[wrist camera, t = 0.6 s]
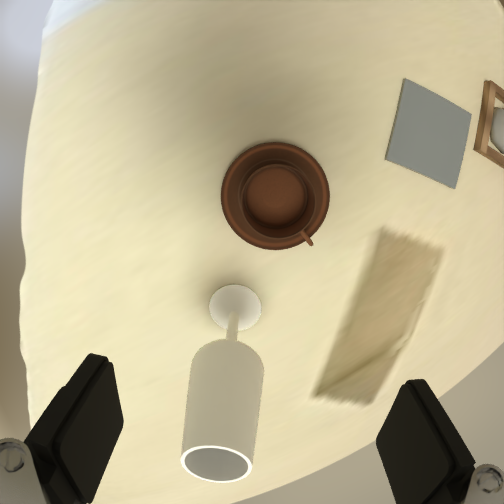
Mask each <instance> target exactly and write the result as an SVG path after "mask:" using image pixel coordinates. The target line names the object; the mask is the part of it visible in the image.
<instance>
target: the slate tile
mask: <svg viewBox="0 0 504 504" xmlns="http://www.w3.org/2000/svg"><path fill="white" fill-rule="evenodd" d="M471 115H472V114H470V113H469V112H467V111H466V110H464V109H462V108H461V107H459V106H457V105H455V104H454V103H452V102H450V101H448V100H447V99H445V98H443V97H441V96H439V95H438V94H436V93H434V92H432V91H430V90H428V89H426V88H424V87H422V86H420V85H418V84H416V83H414V82H412V81H410V80H408V79H406V78H405V79H403V84H402V89H401V93H400V98H399V103H398V107H397V112H396V116H395V120H394V124H393V129H392V133H391V137H390V141H389V144H388V148H387V152H386V156H385V160H387V161H390V162H392V163H395V164H397V165H400V166H402V167H405V168H407V169H410V170H412V171H414V172H417V173H419V174H421V175H424V176H426V177H428V178H430V179H433V180H435V181H437V182H439V183H441V184H444V185H446V186H448V187H450V188H452V189H455V187H456V184H457V180H458V176H459V172H460V168H461V164H462V160H463V155H464V151H465V146H466V141H467V136H468V131H469V126H470V120H471Z"/></svg>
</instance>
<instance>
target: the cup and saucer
mask: <svg viewBox="0 0 504 504" xmlns="http://www.w3.org/2000/svg"><path fill="white" fill-rule="evenodd" d="M329 201H330V191H329V185H328V181H327V178H326V175H325V173H324V171H323V169H322V168H321V166H320V165H319V163H318V162H317V161H316V160H315V159H314V158H313V157H312V156H311V155H310V154H308V153H307V152H306V151H304V150H302V149H301V148H298V147H296V146H293V145H290V144H286V143H278V142H273V143H264V144H260V145H257V146H255V147H252V148H250V149H248V150H247V151H245V152H244V153H242V154H241V155H240V156H239V157H238V158H237V159H236V160H235V161H234V162H233V163H232V164H231V166H230V167H229V169H228V171H227V173H226V175H225V177H224V180H223V183H222V188H221V204H222V209H223V212H224V215H225V218H226V220H227V222H228V224H229V225H230V227H231V228H232V229H233V231H234V232H235V233H236V234H237V235H238V236H239V237H241V238H242V239H243V240H245V241H246V242H248V243H249V244H251V245H254V246H256V247H259V248H263V249H268V250H282V249H288V248H292V247H294V246H297V245H299V244H301V243H303V242H305V241H306V242H307V243H308V244H309V245H310V246H313V242H312V240H311V239H310V237H311V236H312V235H313V234H314V233H315V232H316V231H317V230H318V229H319V227H320V226H321V225H322V223H323V221H324V219H325V217H326V214H327V211H328V207H329Z"/></svg>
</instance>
